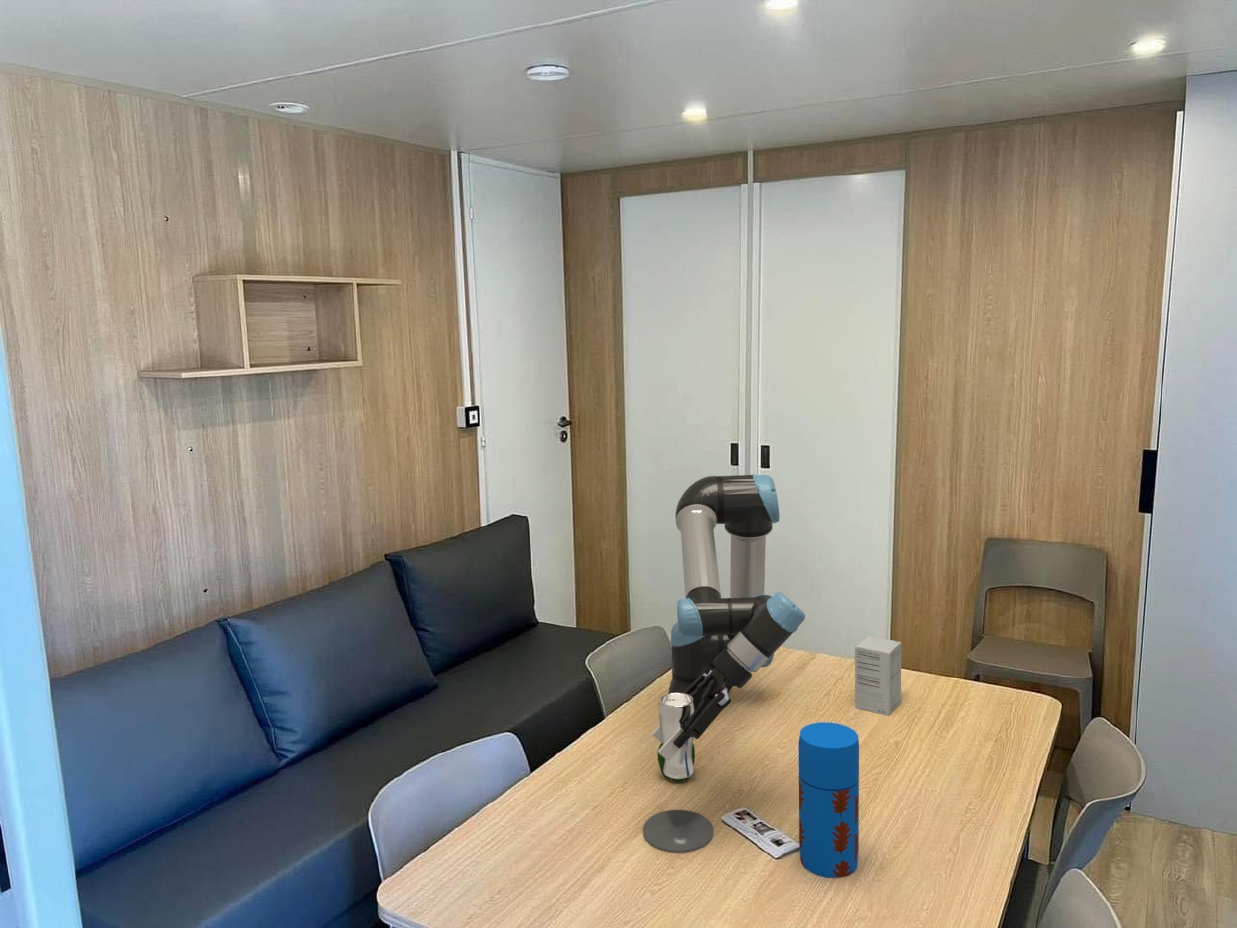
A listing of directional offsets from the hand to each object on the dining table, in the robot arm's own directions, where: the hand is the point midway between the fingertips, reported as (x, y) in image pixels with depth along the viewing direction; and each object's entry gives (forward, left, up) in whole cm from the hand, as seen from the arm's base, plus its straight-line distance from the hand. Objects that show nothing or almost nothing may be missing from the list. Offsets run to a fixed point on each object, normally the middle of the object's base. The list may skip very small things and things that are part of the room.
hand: (660, 746), depth 174 cm
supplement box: (-5, +81, -19) cm, 83 cm away
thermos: (+28, +17, -19) cm, 37 cm away
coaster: (+2, +3, -18) cm, 19 cm away
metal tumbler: (+2, +3, -6) cm, 7 cm away
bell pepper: (-14, +18, -19) cm, 29 cm away
